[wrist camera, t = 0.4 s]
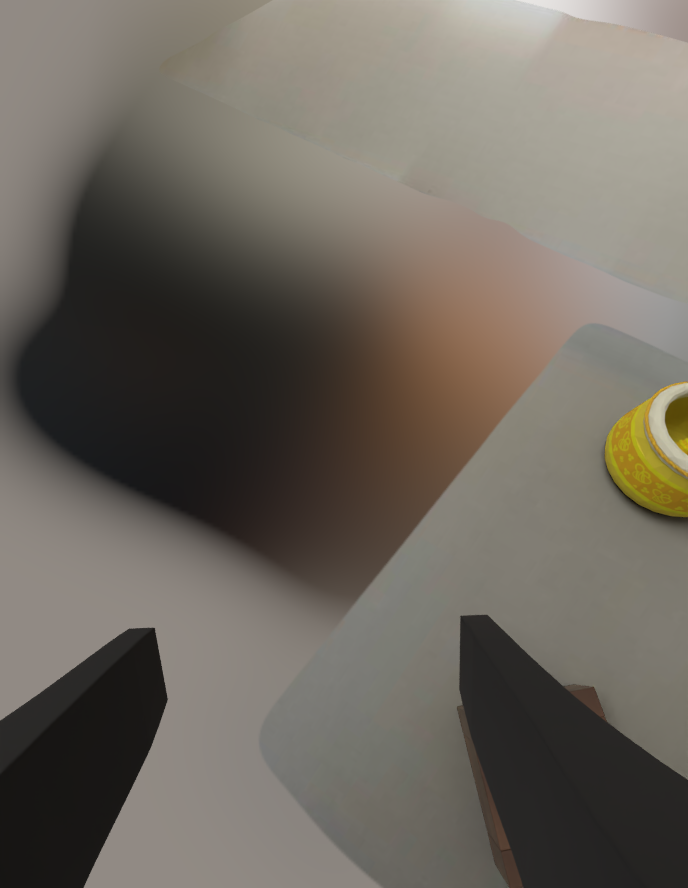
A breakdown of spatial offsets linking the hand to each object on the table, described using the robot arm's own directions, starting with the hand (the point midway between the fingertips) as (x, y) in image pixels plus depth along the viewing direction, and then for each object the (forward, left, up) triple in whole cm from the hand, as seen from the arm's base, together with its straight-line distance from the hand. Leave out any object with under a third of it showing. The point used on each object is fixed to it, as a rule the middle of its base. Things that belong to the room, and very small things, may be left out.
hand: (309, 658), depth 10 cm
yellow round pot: (+12, -33, -29) cm, 45 cm away
